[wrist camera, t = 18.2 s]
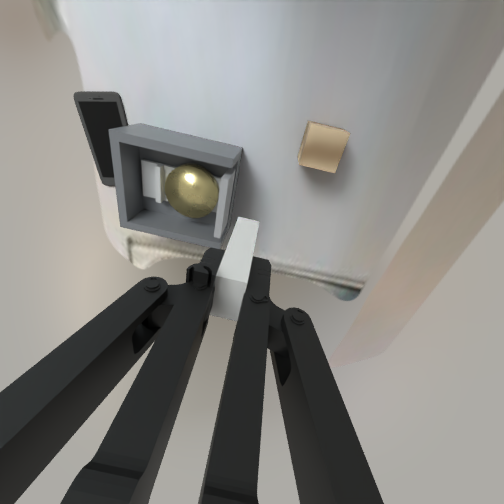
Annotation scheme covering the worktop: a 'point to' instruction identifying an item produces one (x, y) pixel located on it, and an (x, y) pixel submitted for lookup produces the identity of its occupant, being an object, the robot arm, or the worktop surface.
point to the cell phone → (101, 127)
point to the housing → (175, 154)
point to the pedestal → (322, 146)
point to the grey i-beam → (155, 188)
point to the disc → (192, 190)
